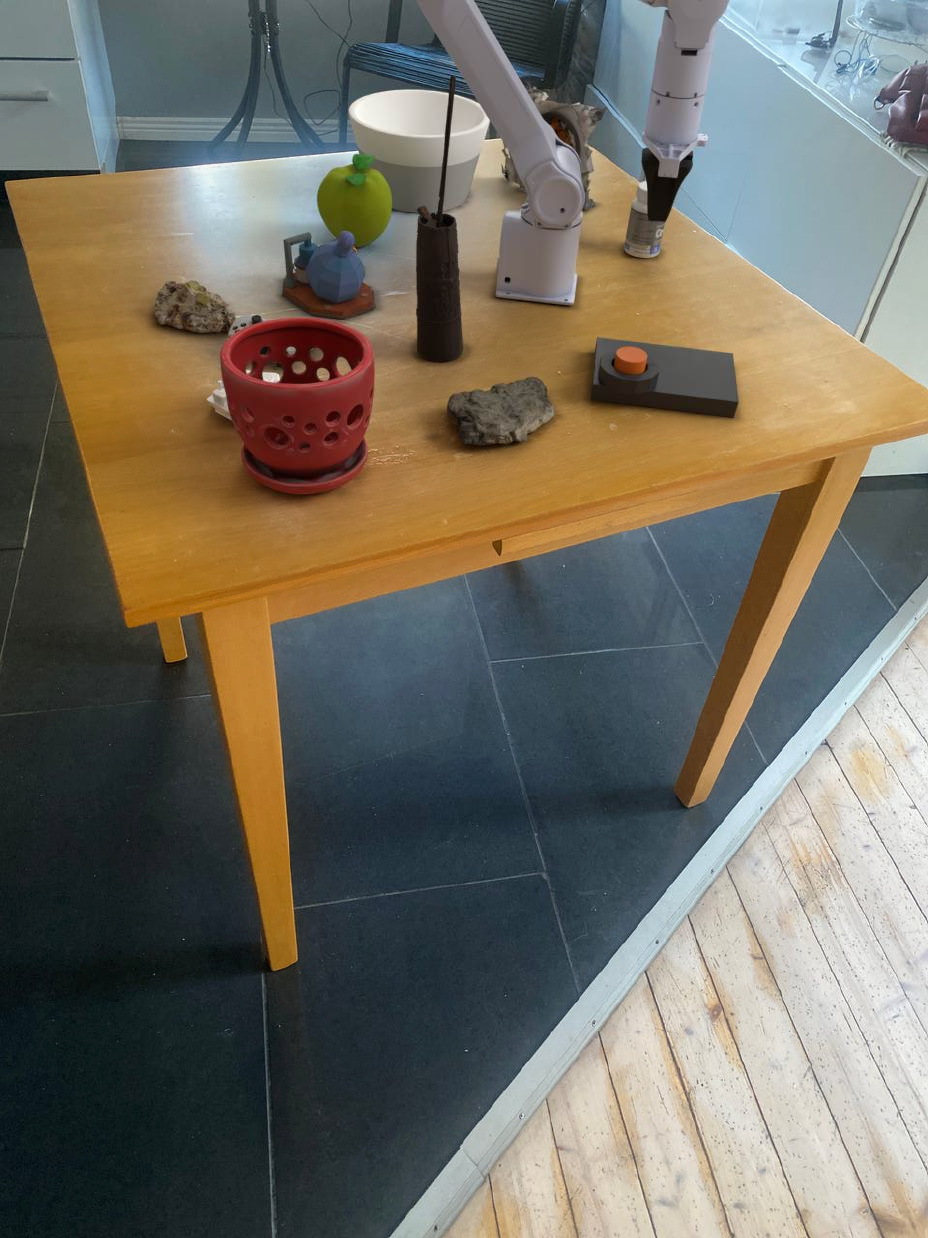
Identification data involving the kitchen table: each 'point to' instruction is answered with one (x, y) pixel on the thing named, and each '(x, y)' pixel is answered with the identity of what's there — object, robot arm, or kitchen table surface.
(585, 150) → the jagged grey brown piece
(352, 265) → the model
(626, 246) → the pill bottle
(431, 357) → the butter churn
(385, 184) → the fruit
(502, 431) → the stone
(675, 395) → the grey push button box
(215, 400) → the toy car
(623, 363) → the button
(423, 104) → the bowl
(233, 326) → the game controller
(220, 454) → the kitchen table surface
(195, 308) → the mineral rock
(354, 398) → the plant pot
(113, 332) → the kitchen table surface
